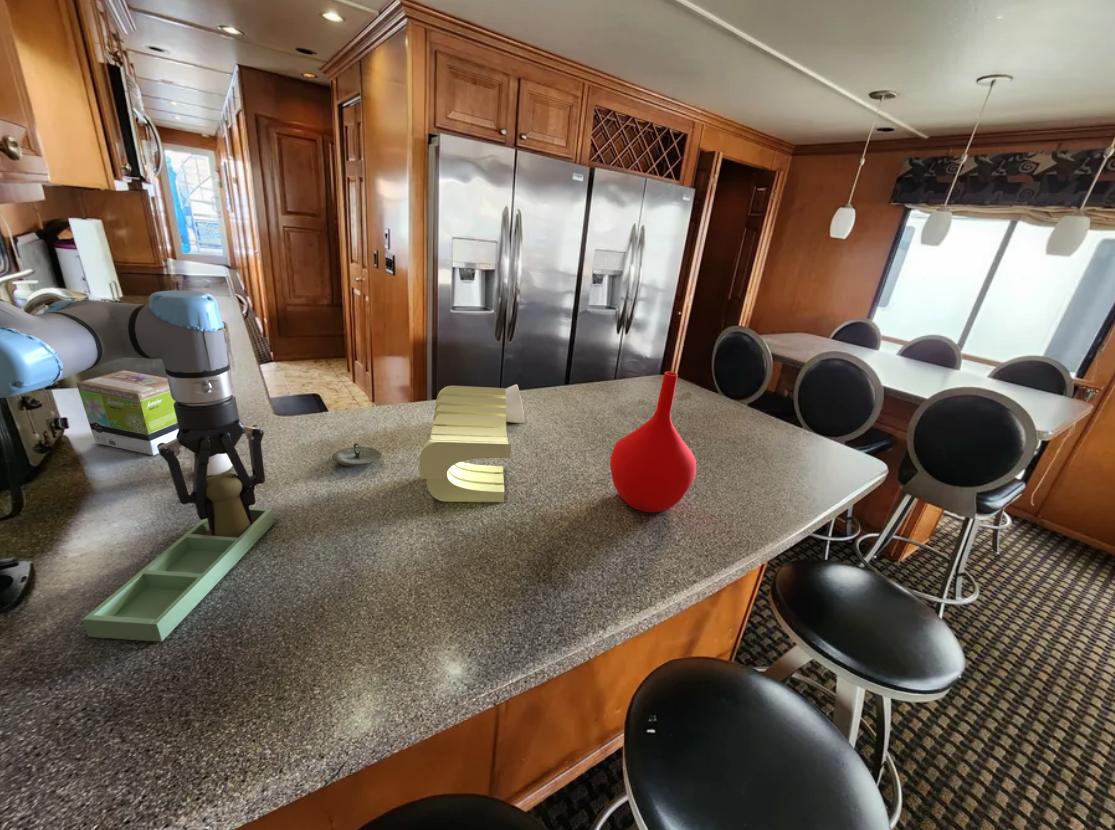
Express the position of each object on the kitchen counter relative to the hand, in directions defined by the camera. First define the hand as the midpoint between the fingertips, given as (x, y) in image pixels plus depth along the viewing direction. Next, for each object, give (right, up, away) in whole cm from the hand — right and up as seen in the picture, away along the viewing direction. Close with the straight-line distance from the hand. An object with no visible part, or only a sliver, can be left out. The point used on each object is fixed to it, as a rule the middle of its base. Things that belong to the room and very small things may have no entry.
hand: (231, 526), depth 77 cm
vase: (+75, 0, +25) cm, 79 cm away
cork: (0, -1, 0) cm, 2 cm away
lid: (+9, +8, +28) cm, 30 cm away
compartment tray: (0, -5, -7) cm, 9 cm away
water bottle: (-17, +7, +19) cm, 27 cm away
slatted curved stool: (+35, +3, +23) cm, 43 cm away
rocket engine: (+36, +18, +59) cm, 71 cm away
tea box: (-38, +13, +26) cm, 48 cm away
